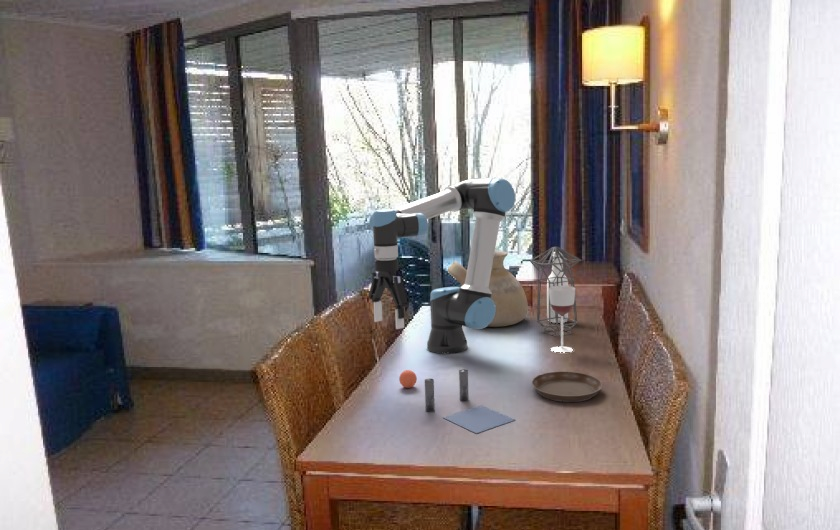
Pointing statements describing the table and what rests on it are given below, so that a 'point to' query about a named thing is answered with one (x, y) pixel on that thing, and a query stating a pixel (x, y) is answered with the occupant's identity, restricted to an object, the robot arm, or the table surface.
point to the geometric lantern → (557, 252)
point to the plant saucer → (566, 386)
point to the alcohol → (556, 271)
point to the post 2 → (463, 384)
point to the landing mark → (479, 419)
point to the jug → (500, 291)
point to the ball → (407, 378)
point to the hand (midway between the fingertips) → (388, 324)
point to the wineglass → (562, 308)
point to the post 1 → (429, 395)
